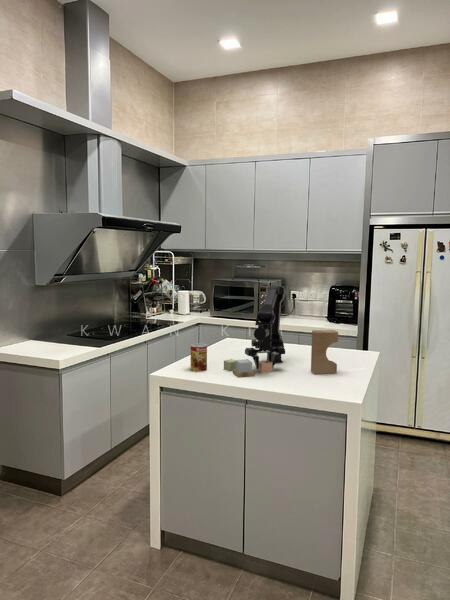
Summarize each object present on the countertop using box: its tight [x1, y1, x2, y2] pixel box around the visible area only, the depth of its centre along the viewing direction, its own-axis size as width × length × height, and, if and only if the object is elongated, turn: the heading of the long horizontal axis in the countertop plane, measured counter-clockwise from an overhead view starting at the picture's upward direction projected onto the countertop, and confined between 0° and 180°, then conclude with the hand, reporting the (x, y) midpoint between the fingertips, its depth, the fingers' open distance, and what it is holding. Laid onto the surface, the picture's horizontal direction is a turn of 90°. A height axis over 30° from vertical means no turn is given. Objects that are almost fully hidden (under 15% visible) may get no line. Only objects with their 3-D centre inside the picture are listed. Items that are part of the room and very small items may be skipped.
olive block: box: [223, 358, 237, 373], centre depth 213 cm, size 5×5×4 cm
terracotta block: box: [256, 359, 273, 374], centre depth 212 cm, size 6×6×4 cm
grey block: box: [235, 358, 253, 373], centre depth 204 cm, size 6×6×4 cm
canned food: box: [190, 342, 208, 373], centre depth 212 cm, size 8×8×12 cm
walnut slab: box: [232, 369, 256, 379], centre depth 205 cm, size 8×8×2 cm
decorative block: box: [310, 329, 339, 375], centre depth 209 cm, size 11×6×20 cm, turn 98°
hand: (264, 368), depth 212 cm, fingers open, 7 cm apart
